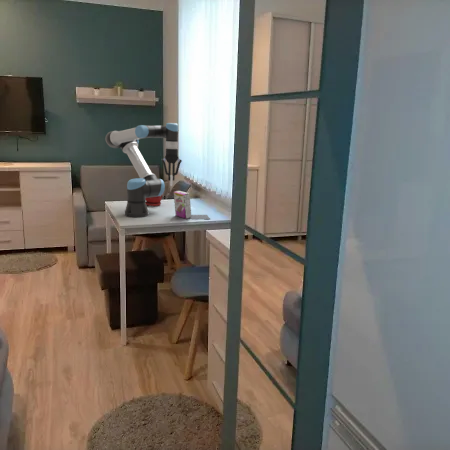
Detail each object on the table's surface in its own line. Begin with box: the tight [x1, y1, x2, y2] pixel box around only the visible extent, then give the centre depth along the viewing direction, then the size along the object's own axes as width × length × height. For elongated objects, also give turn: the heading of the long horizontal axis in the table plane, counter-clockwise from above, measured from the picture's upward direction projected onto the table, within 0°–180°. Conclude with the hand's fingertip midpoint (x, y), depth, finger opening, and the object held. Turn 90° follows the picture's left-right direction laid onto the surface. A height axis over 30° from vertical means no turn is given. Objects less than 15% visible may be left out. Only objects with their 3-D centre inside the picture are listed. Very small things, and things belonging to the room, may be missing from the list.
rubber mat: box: [189, 214, 211, 220], centre depth 288 cm, size 13×12×1 cm
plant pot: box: [146, 193, 164, 207], centre depth 318 cm, size 13×13×12 cm
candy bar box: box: [173, 190, 192, 220], centre depth 284 cm, size 11×5×16 cm, turn 44°
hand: (171, 185), depth 279 cm, fingers closed
